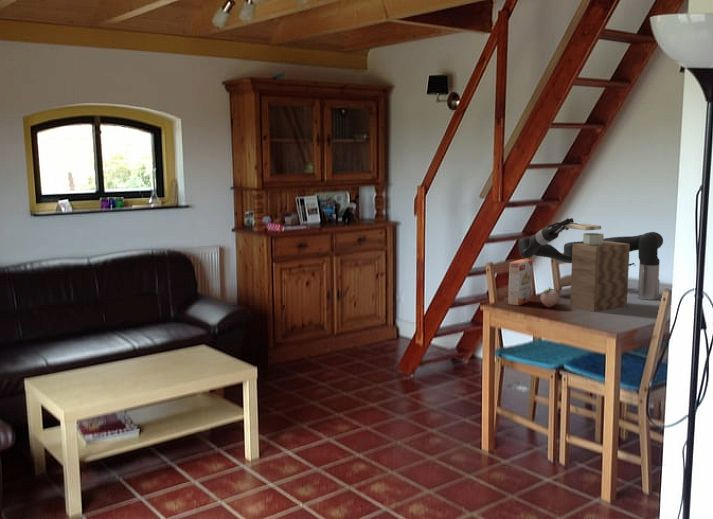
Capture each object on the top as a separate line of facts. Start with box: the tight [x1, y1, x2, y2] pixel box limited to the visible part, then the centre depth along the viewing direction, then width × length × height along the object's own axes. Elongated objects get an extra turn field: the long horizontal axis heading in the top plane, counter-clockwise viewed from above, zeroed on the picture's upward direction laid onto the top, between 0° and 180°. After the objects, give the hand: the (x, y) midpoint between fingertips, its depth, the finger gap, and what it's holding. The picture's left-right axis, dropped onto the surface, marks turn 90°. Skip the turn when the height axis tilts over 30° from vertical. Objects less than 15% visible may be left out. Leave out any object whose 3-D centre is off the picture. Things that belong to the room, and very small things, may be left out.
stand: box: [569, 241, 630, 313], centre depth 345 cm, size 23×14×30 cm, turn 121°
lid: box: [556, 220, 602, 231], centre depth 348 cm, size 10×22×2 cm, turn 31°
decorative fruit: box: [539, 286, 560, 309], centre depth 344 cm, size 9×8×10 cm
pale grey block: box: [582, 232, 605, 246], centre depth 340 cm, size 9×9×5 cm
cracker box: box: [507, 258, 533, 307], centre depth 354 cm, size 14×6×21 cm, turn 143°
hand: (570, 220), depth 350 cm, fingers closed on lid, 2 cm apart
